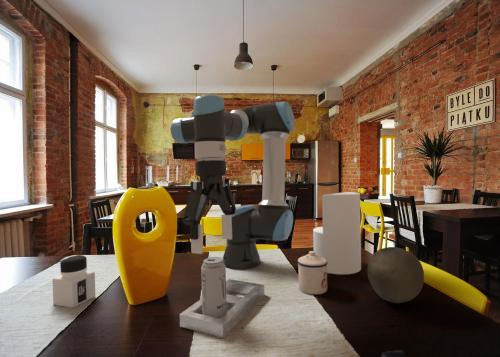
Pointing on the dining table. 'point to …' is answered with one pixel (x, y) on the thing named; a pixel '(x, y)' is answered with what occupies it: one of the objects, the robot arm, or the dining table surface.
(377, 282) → the cantaloupe
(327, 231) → the cylinder
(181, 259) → the dining table surface
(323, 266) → the teacup with lid
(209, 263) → the energy drink can
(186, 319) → the rail
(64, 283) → the container
